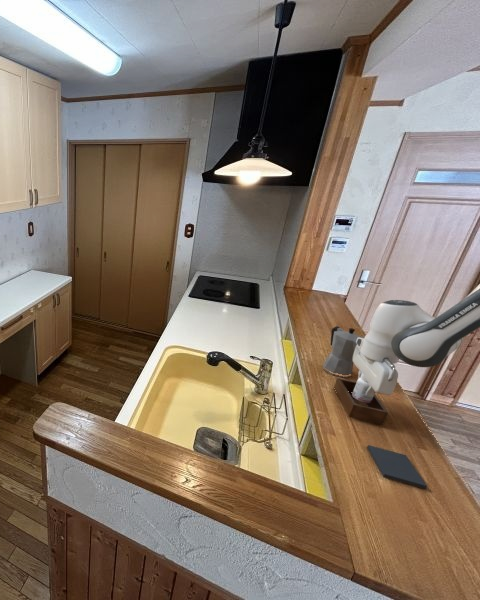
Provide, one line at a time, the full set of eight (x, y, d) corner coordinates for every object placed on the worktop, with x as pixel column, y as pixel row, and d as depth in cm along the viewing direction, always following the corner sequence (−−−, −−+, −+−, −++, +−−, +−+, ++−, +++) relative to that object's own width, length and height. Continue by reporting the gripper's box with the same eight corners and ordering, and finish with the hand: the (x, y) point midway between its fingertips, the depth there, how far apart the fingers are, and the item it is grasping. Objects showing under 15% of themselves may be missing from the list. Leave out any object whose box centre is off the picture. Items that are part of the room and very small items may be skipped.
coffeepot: (361, 382, 116) (380, 338, 110) (334, 380, 117) (351, 335, 111) (334, 360, 130) (349, 319, 124) (310, 358, 131) (323, 317, 125)
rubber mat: (404, 457, 84) (405, 454, 83) (425, 489, 75) (427, 486, 75) (366, 447, 86) (368, 444, 86) (383, 476, 78) (384, 473, 77)
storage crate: (362, 395, 109) (367, 384, 107) (383, 425, 95) (388, 412, 94) (333, 388, 112) (337, 377, 110) (348, 416, 98) (353, 404, 96)
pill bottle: (374, 401, 101) (384, 378, 98) (365, 404, 99) (374, 381, 96) (357, 392, 105) (366, 370, 102) (348, 395, 103) (356, 372, 101)
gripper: (411, 370, 86) (392, 413, 91) (379, 339, 104) (364, 376, 109) (381, 365, 88) (364, 406, 93) (355, 335, 106) (342, 371, 111)
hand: (364, 390), depth 101 cm, fingers closed on pill bottle, 5 cm apart
